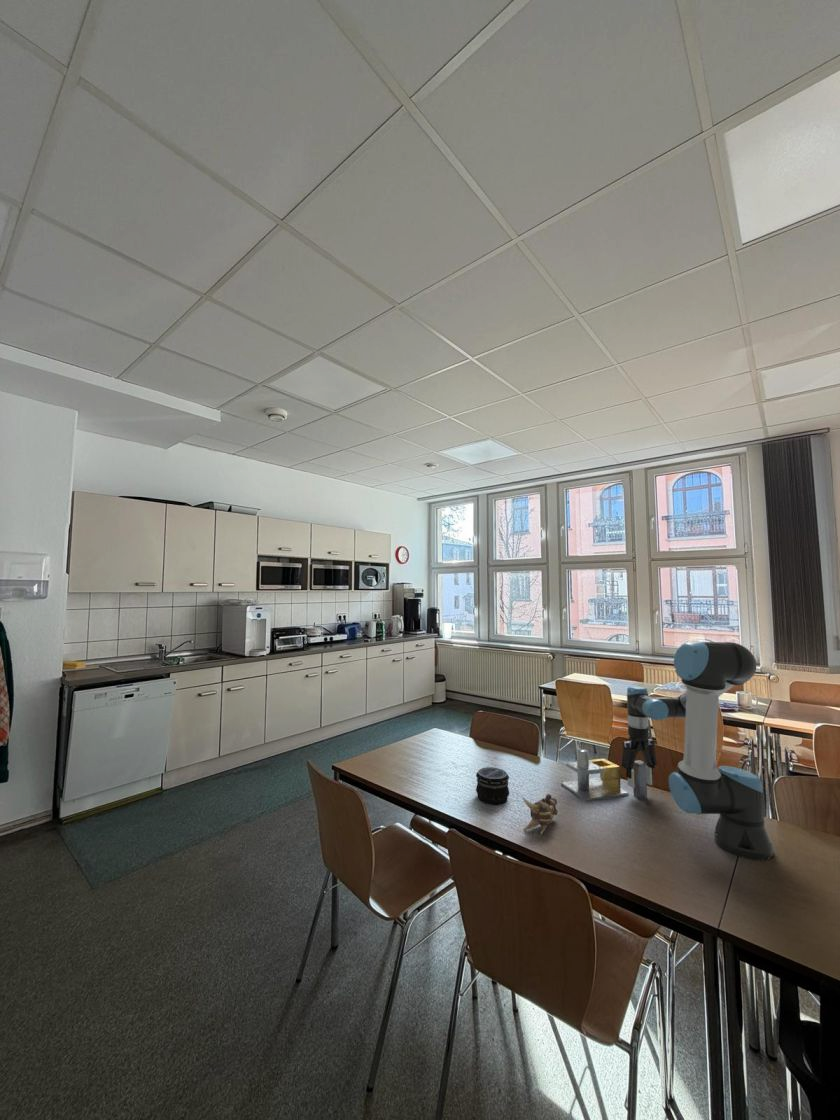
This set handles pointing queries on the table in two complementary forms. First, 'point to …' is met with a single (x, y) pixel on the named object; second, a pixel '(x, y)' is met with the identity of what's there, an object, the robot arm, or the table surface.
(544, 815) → the toy
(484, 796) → the container
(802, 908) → the table surface
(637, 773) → the pin
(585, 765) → the grey frame
